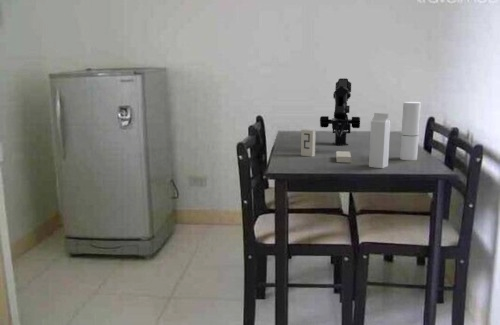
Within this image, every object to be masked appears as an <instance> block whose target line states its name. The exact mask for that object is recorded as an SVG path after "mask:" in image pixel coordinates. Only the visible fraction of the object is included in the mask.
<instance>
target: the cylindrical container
mask: <svg viewBox="0 0 500 325" xmlns="http://www.w3.org/2000/svg"><path fill="white" fill-rule="evenodd" d="M421 104H422V102H420V101H403V104H402V105H403V106H402V121H401V123H402V124H401V138H400V151H399V153H400V154H399V159H400V160H403V161H417V160H418V152H419V151H418V149H419V148H418V147H419V136H420V134H419V133H420V132H419V130H420V119H421V109H422V108H421V106H422V105H421Z"/></svg>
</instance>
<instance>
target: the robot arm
mask: <svg viewBox="0 0 500 325" xmlns="http://www.w3.org/2000/svg"><path fill="white" fill-rule="evenodd" d="M334 89H335V91H333V93H332V94H333V99H334V103H335V104H334V112H333V118H331V119H329V118H330V117H329V115H328V116H326V115H324V116H323V115H322V116H320V118H319V127H320V128H328V127H329V126H330V125H331V128H332V134H335V135H334V139H335V140H334V142H332V144H333V145H335V146H349V143H347V134H351V128H353V129H360V128H361V117H360V116H351V118H349V115H348V114H350V109H351V107H350V105H348V100H349V99H350V98H351V96H352V95H351V93H352V82H351V81H349V78H346V77H345V78H338V81H336V82H335V88H334Z"/></svg>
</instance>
